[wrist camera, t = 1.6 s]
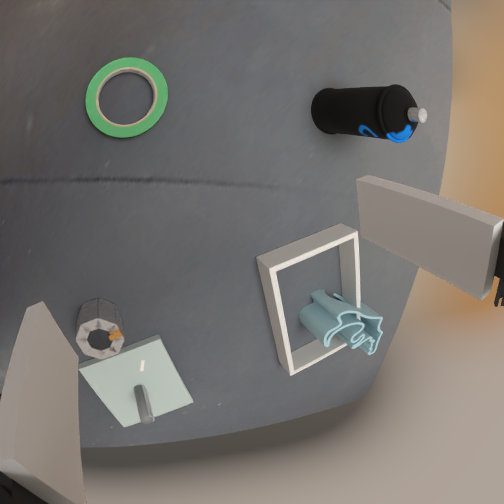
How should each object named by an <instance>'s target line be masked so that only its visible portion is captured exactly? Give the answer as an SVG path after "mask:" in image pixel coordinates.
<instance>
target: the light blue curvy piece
mask: <svg viewBox="0 0 504 504" xmlns="http://www.w3.org/2000/svg"><path fill="white" fill-rule="evenodd" d="M324 291H325V290H323V289H321V290H316V291H314V292H313V293H311V297H312V299H313V303H311V304H310V305H308V306H305V307H304V308H303V309H302V310H301V311H300V314H299V319H300V322H301V323H302V324H303V325H304V326H305V327H306V328H307V329H308V330H309V331H310V332H311V333H312V334H313V335H314V336H315V337H316V338H317V339H318V340H319V341H320V342H321V343H322V344H323V345H324V346H325V347H329V345H330V340H331V338H332V337H333V335H334V334H336V335H337V336H338V337H340V338H341V339H342V340H343V341H344V342H345V343H346V344H347V345H348V346H349V347H351V348H352V349H355V348H357V347H358V346H359V347H360V348H361V349H362V350H363V351H364V352H366V353H367V354H368V355H371V354H373V353H374V352H375V351H376V349H377V345H378V342H379V340H380V337H381V335H382V333H383V331H382V330H380V324H381V322H382V319H383V317H381V316H380V315H379V314H377V313H376V312H374V311H373V310H372V309H370V308H369V307H368V306H366V305H365V304H363V303H362V302H361V301H360V308H359V307H356V306H355V305H353V304H352V303H351V302H349V301H348V300H347V299H345V298H344V297H343V296H340V295H338V294H336V293H334V296H336V297H337V298H339V299H340V300H342V301H339V300H336V299H334V298H331V297H329V296H328V295H326V294H325V292H324ZM351 313H356V314H358V315H360V320H359V319H357V318H356V317H355V316H354V315H352V314H351Z"/></svg>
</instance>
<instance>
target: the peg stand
mask: <svg viewBox="0 0 504 504" xmlns="http://www.w3.org/2000/svg"><path fill="white" fill-rule="evenodd" d="M79 371H80V372H81V373H82V375H83V376H84V377H85V379H86V380H87V382H88V383H89V384H90V386H91V387H92V388H93V390H94V391H95V392H96V394H97V395H98V396H99V397H100V399H101V400H102V401H103V402H104V404H105V405H106V406H107V407H108V409H109V410H110V411H111V412H112V414H113V415H114V416H115V417H116V418H117V420H118V421H119V422H120V423H121V424H122V425H123V427H127V426H130V425H133V424H136V423H139V422H141V423H143V424H150V423H152V422H153V421H155V420H154V417H156V416H159V415H161V414H164V413H167V412H169V411H172V410H175V409H177V408H180V407H183V406H185V405H188V404H190V403H193V402H194V401H193V399H192V397H191V395H190V393H189V391H188V389H187V388H186V386H185V384H184V382H183V380H182V378H181V377H180V375H179V373H178V371H177V369H176V367H175V365H174V363H173V361H172V359H171V357H170V355H169V353H168V352H167V350H166V348H165V346H164V344H163V342H162V339H161V337H160V335H159V334H157V335H154V336H152V337H149V338H147V339H144V340H141V341H139V342H136V343H134V344H131V345H128V346H126V347H123V348H121V349H120V351H119V353H118V354H116V355H114V356H111V357H108V358H106V359H102V360H101V359H98V358H94V359H91V360H88V361H86V362H83V363H80V364H79Z"/></svg>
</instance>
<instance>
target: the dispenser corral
mask: <svg viewBox="0 0 504 504" xmlns="http://www.w3.org/2000/svg"><path fill="white" fill-rule="evenodd" d="M336 245H339V257H340V270H341V285H342V296H343V297H344V298H345V299H347V300H348V301H349V302H351V303H352V304H353V305H355V306H356V307H359V308H360V267H359V245H358V231H357V230H355V229H352V228H350V227H348V226H346V225H344V224H342V223H339V224H337V225H334V226H332V227H329V228H327V229H325V230H322V231H320V232H317V233H315V234H312V235H310V236H307V237H305V238H302V239H300V240H297V241H295V242H292V243H289V244H287V245H284V246H282V247H279V248H277V249H274V250H272V251H269V252H267V253H264V254H262V255H259V256H257V257H256V260H257V264H258V269H259V273H260V278H261V282H262V286H263V291H264V295H265V300H266V304H267V309H268V313H269V318H270V322H271V327H272V331H273V335H274V340H275V344H276V349H277V353H278V358H279V362H280V363H281V364H282V366H283V367H284V368H285V369H286V371H287V372H288V373H289V375H290V376H291V375H293V374H295V373H297V372H299V371H301V370H303V369H305V368H307V367H309V366H310V365H312V364H314V363H316V362H318V361H320V360H322V359H323V358H325V357H327V356H329V355H331V354H332V353H334V352H336V351H338V350H339V349H341V348H343V347H345V346H346V345H347V344H346V343H345V342H344V341H343V340H342V339H341V338H340V337H338V336H337V335H336V334H334V335H333V337H332V338H331V340H330V345H329V347H325V346H324V345H323V344H322V343H321V342H320V341H319V340H318V339H316V340H314V341H312V342H311V343H309V344H307V345H305V346H303V347H301V348H299V349H297V350H295V351H293V352H291V350H290V344H289V339H288V334H287V328H286V323H285V318H284V312H283V307H282V302H281V297H280V291H279V286H278V281H277V276H276V271H278V270H281V269H283V268H285V267H288V266H290V265H292V264H295V263H297V262H299V261H302V260H304V259H306V258H309V257H311V256H313V255H316V254H318V253H320V252H323V251H325V250H327V249H330V248H332V247H334V246H336ZM351 314H352V315H354V316H355V317H356V318H357V319H359V320H360V315H358V314H356V313H351Z"/></svg>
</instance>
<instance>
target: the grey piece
mask: <svg viewBox="0 0 504 504" xmlns="http://www.w3.org/2000/svg"><path fill="white" fill-rule="evenodd" d="M99 328H100V329H99ZM76 342H77V343H78V345H79V346H80V348H81V349H82V351H83V353H84V354H85V355H88V356H91V357H95V358H98V359H101V360H102V359H106V358H108V357H111V356H114V355H116V354H118V353H119V351H120V349H121V347H122V344H123V342H124V332H123V324H122V317H121V315H120V313H119V311H118V309H117V307H116V305H115V304H114V303H111V302H109V301H106V300H103V299H101V298H99V299H98V298H96V299H94V300H91V301H89V302H86V303H84V304H82V307H81V310H80V312H79V315H78V319H77V329H76Z"/></svg>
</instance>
